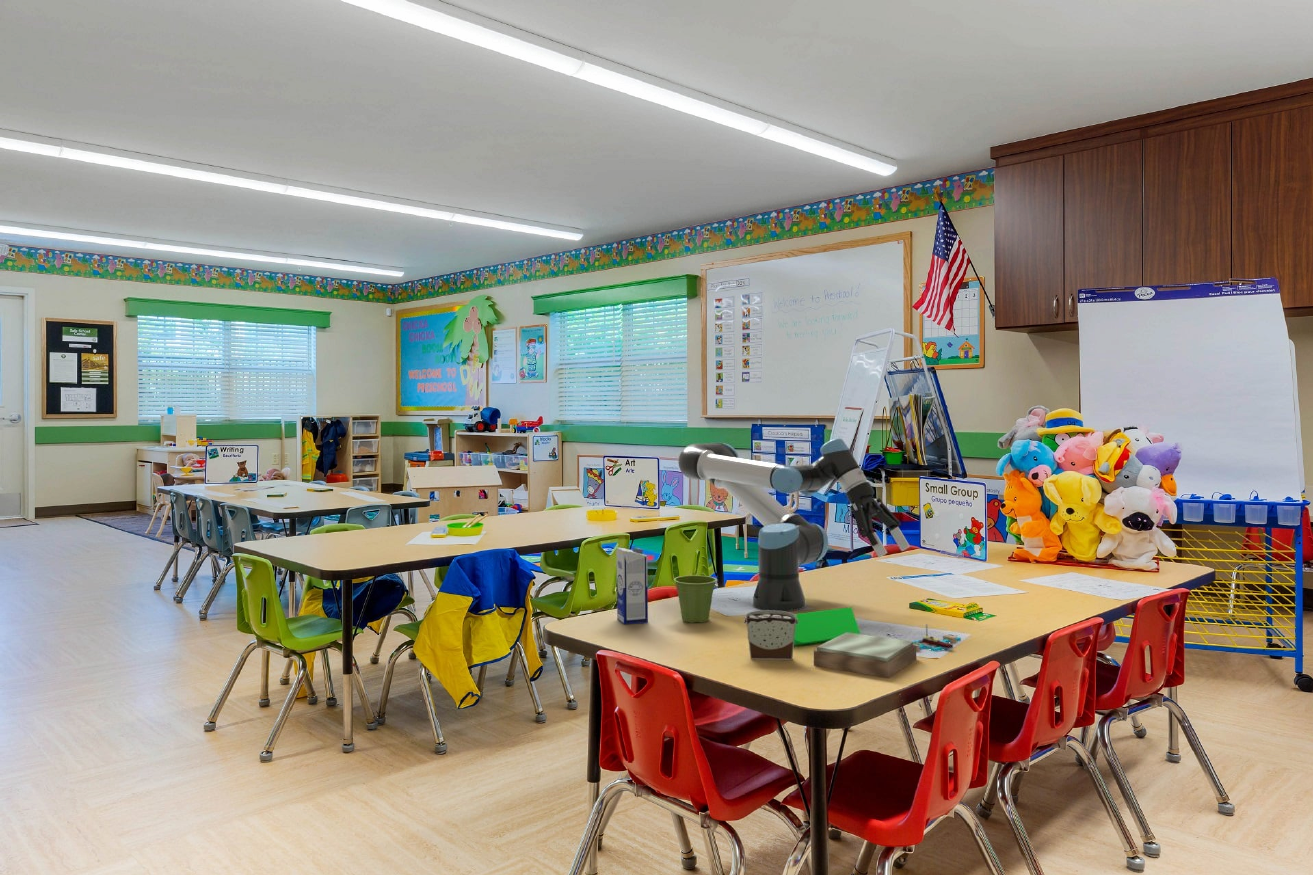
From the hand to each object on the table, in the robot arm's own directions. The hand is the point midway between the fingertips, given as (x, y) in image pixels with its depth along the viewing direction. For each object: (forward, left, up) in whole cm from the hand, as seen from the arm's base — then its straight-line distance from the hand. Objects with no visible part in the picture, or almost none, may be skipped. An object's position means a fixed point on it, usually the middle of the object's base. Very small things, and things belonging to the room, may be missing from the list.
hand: (894, 552), depth 241 cm
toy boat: (+21, -30, -18) cm, 41 cm away
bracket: (-6, -39, -17) cm, 43 cm away
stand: (+13, -52, -17) cm, 57 cm away
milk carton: (-55, -49, -17) cm, 76 cm away
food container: (-7, -59, -17) cm, 62 cm away
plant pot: (-41, -39, -17) cm, 59 cm away
